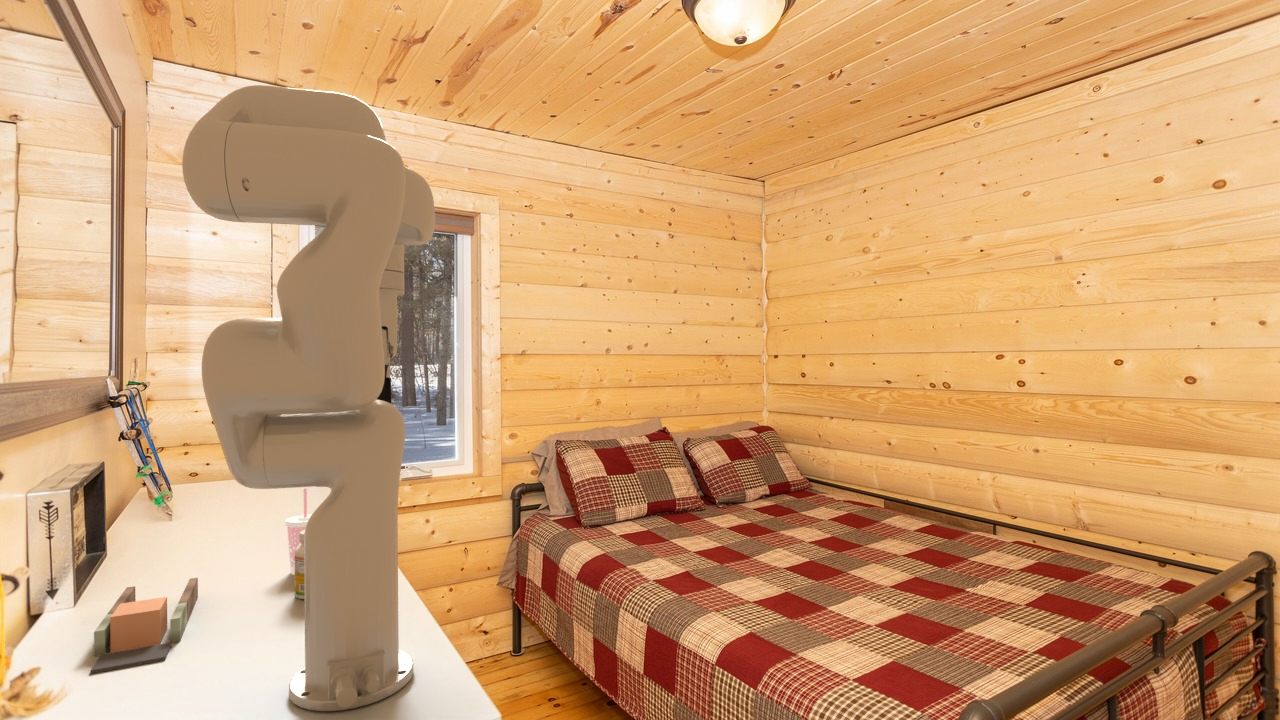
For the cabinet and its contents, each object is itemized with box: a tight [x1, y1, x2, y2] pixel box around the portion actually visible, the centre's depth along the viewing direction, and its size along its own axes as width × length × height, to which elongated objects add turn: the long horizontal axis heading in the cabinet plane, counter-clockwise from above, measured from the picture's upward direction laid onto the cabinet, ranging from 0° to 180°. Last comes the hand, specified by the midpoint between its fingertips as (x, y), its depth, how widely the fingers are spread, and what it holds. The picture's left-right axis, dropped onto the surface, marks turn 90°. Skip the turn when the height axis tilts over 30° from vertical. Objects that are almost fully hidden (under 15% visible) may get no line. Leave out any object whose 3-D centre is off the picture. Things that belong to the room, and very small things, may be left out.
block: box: [110, 596, 168, 653], centre depth 84 cm, size 5×5×4 cm
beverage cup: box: [284, 488, 313, 576], centre depth 111 cm, size 6×6×14 cm
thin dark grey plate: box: [89, 642, 172, 675], centre depth 78 cm, size 4×7×1 cm, turn 118°
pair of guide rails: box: [93, 577, 199, 657], centre depth 89 cm, size 18×9×3 cm, turn 28°
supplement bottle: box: [294, 530, 305, 600], centre depth 100 cm, size 5×5×10 cm
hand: (379, 404), depth 100 cm, fingers closed
